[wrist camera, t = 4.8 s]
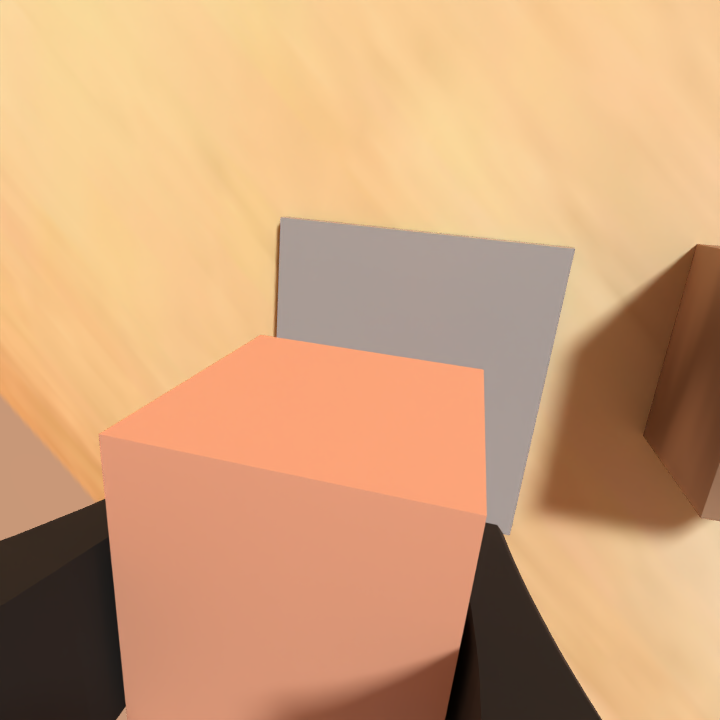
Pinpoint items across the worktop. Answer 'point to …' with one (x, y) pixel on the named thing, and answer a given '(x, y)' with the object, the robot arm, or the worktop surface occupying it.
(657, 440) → the walnut block
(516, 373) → the baseplate
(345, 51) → the worktop surface
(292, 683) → the terracotta block
